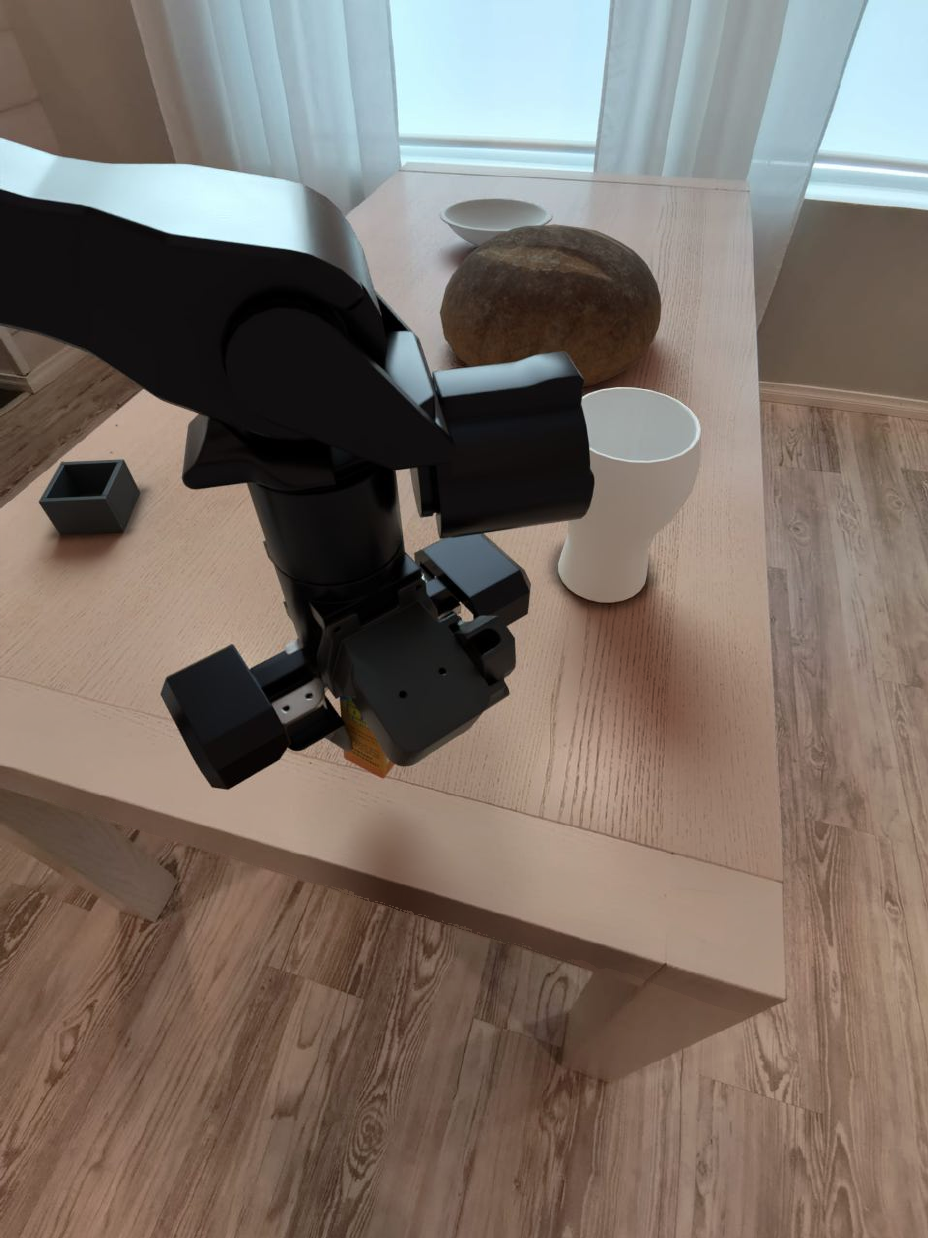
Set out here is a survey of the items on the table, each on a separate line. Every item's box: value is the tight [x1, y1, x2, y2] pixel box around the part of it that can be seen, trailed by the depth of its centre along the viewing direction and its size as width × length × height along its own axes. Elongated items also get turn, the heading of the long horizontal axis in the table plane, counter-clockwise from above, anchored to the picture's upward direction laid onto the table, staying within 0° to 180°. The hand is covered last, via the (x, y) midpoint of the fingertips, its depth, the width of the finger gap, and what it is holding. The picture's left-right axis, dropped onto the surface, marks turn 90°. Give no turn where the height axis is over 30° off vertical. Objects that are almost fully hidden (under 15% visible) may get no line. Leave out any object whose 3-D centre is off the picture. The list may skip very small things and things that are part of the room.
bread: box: [439, 223, 662, 387], centre depth 79 cm, size 26×27×13 cm
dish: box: [438, 196, 554, 247], centre depth 103 cm, size 18×14×5 cm
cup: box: [557, 386, 702, 604], centre depth 52 cm, size 11×11×15 cm
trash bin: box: [38, 458, 141, 536], centre depth 62 cm, size 6×6×4 cm
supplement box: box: [339, 695, 395, 780], centre depth 38 cm, size 3×3×10 cm
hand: (377, 726), depth 40 cm, fingers closed on supplement box, 4 cm apart
